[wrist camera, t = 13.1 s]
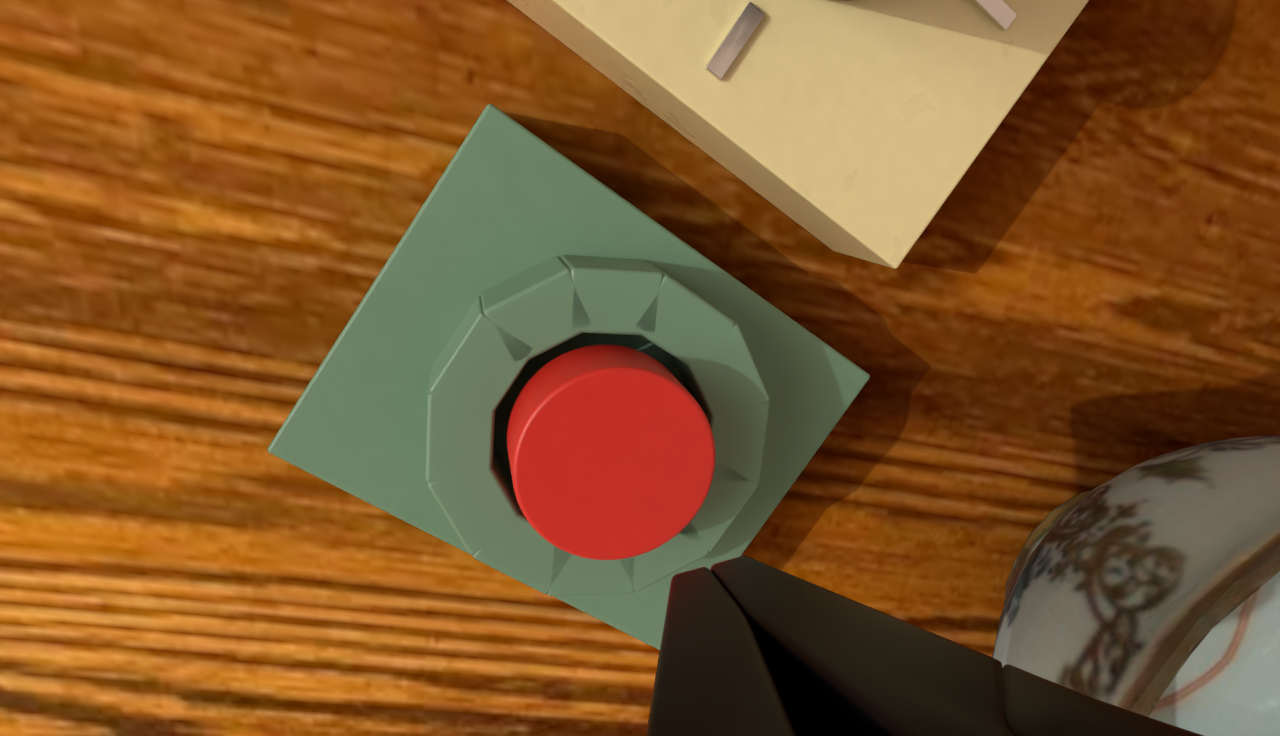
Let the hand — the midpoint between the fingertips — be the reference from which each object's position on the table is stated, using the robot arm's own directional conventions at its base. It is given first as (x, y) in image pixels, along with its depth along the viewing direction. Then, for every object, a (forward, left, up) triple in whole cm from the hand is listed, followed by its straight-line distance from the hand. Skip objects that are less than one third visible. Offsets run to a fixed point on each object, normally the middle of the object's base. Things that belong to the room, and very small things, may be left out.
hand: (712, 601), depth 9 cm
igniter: (0, -1, -11) cm, 11 cm away
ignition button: (0, -1, -7) cm, 7 cm away
